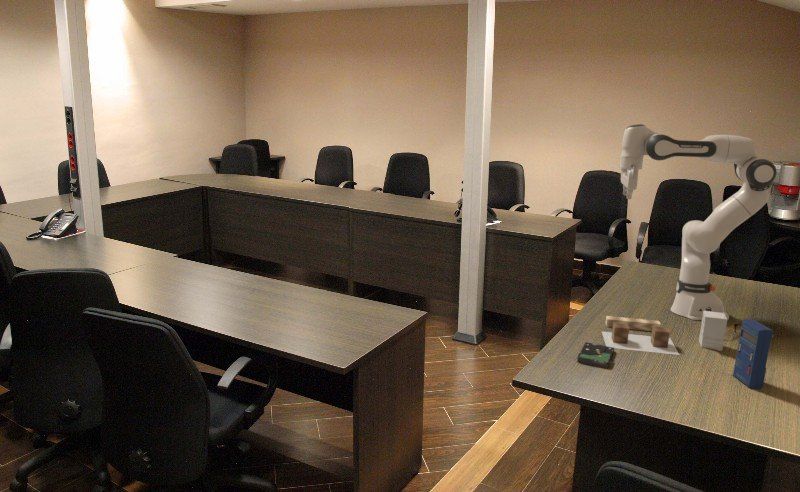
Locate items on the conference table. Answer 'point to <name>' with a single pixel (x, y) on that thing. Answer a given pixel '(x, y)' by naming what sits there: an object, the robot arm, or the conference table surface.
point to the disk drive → (595, 355)
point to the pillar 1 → (620, 333)
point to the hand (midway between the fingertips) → (626, 197)
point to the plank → (633, 323)
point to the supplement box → (713, 330)
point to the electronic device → (752, 353)
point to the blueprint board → (639, 344)
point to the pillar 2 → (660, 337)
